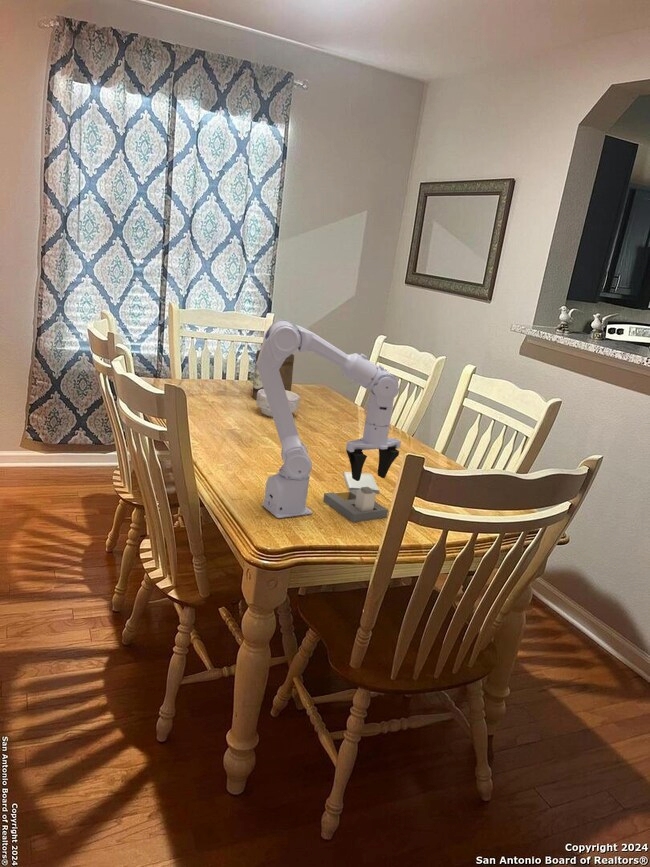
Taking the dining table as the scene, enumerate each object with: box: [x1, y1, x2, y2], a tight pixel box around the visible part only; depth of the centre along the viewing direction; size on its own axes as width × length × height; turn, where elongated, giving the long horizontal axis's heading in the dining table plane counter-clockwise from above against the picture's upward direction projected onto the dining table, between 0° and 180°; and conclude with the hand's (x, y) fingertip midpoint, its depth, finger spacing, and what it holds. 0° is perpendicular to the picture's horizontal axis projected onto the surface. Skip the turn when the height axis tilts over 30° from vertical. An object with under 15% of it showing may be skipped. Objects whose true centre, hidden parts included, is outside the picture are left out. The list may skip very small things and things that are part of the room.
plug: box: [355, 487, 377, 512], centre depth 156 cm, size 3×3×7 cm
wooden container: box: [251, 349, 295, 401], centre depth 254 cm, size 15×15×22 cm
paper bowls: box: [255, 389, 301, 418], centre depth 234 cm, size 15×15×8 cm
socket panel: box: [322, 490, 389, 523], centre depth 160 cm, size 10×13×2 cm
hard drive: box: [342, 471, 380, 495], centre depth 178 cm, size 2×8×12 cm
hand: (368, 478), depth 155 cm, fingers open, 7 cm apart
